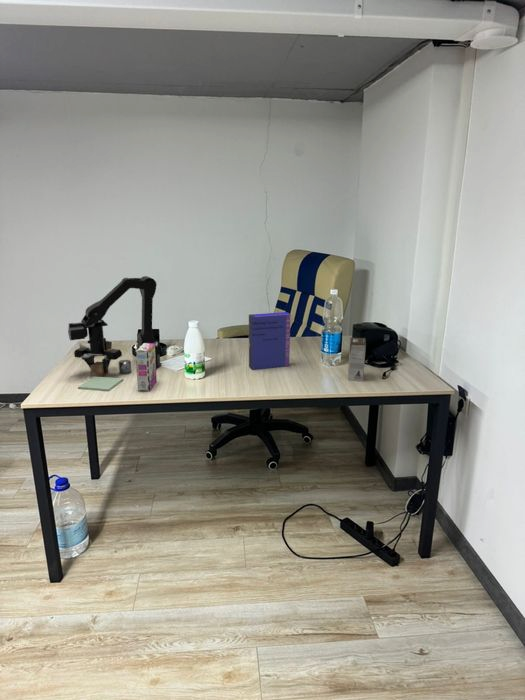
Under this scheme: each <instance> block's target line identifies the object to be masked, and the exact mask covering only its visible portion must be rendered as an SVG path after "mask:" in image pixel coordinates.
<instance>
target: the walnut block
mask: <svg viewBox="0 0 525 700" xmlns="http://www.w3.org/2000/svg"><path fill="white" fill-rule="evenodd" d="M90 366H91V369H90V374H91V378H92V377H94V376H96V377H106V376H107V375H109V374H110V373H109V372H110V371H109V369H108V370H107V373H105V372H104V368H103V363H102V361H94V364H92V365H90Z"/></svg>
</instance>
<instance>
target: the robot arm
mask: <svg viewBox="0 0 525 700" xmlns="http://www.w3.org/2000/svg"><path fill="white" fill-rule="evenodd" d="M130 289H137V290H139V293H140V295H141V296H140V297H141V330H140V333H136V344H138V348H139V347H140V346H141V345H142V344H143V343H155V344H156V341H155V336H154V333H153V301H154V300H153V298H154V297H155V294H156V290H157V281H156V280H155V279H154V278H152V277H150V276H146V275H144V276H142V277H123V278H122V280H121V281H120V282H119V283H117V285H115V287H113V288H112V289H111V290H110V291H109V292H108V293H107V294H106V295H105V296H104V297H103V298H101V299H100V300H98V301H96V302H94V303H92V304H91V305H90V306H88V307H87V308H86V309H85V311H84V313H85V314H84V315H83V317H82V319H81V321H80V322H70V323H68V330H67V333H68V338H69V341H77V340H78V341H79V340H85V339H86V338H87V337H88V340H87V343H90V349H89V348H86V347H81V348H80V347H79V348H78V349H77V348H76V349H75V350H74V351H73V354H74V355H73V356H74V358H81V360H83V361H84V362H85V363H86V365H87V366H88V367H89V369H90V370H91V366H90V365H92V364H94V363H95V357H96V356H99V357H100V356H103V357H104V358H102V359H101V362H102V363H103V368H104V372H105V373H107V370H108V371H109V366H110V363H111V361H113V360H118V359H119V358H121V357H122V356H123V354H122V353H123V351H122V350H121V349H119V348H118V349H115V348H112V345H113V341H108V340H107V338H106V337H104V336H105V335H104V327H107V326H108V323H107V322H105V320H104V319H103V318H104V317H105V315H106V314H107V312H108V310H110V307H112V306H113V304H115V303H116V302H117V301H118V300H119V299H120V298H121V297H122V296H123V295H124V294H126V292H128V291H129V290H130ZM108 349H112V350H110V351H105V350H108ZM161 352H162V350H161V348H159V347H158V346H156V345H155V357H156V369H158V368H159V367H161V366H162V365H161V364H163V363H162V362H161V356H160V355H161Z"/></svg>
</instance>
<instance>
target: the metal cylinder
mask: <svg viewBox="0 0 525 700" xmlns="http://www.w3.org/2000/svg"><path fill="white" fill-rule="evenodd" d="M132 371H133V370H132V363H131V360H130V359H122V360H119V361H118V372H119V375H122V376H123V375H130V374H132Z"/></svg>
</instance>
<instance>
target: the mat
mask: <svg viewBox="0 0 525 700" xmlns="http://www.w3.org/2000/svg"><path fill="white" fill-rule="evenodd" d="M123 381H124V378H120V377H119V378H117V377H109V376H107V377H106V376H104V377H96V376H94V377H92V376H91V378H90V379H88V380H86V381H85V382H83V383H82V384H80V385H79V386H77V389H78V390H88V391H101V392H102V391H103V392H110V391H111V390H113V389H114V388H116V386H117V387H118V386H119V384H121V383H122V382H123Z"/></svg>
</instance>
